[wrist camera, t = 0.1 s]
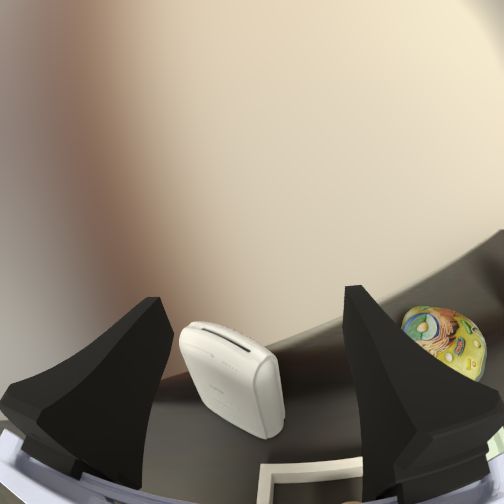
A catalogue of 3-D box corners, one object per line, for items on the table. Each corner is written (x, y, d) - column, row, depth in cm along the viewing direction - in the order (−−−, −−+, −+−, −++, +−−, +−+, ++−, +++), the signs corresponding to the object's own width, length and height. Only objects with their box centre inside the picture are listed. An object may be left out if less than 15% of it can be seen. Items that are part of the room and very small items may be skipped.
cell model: (435, 406, 22) (389, 294, 33) (421, 417, 28) (386, 322, 38) (511, 362, 21) (458, 265, 31) (487, 381, 26) (447, 296, 37)
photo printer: (198, 405, 31) (165, 327, 26) (222, 383, 34) (197, 304, 29) (268, 447, 25) (251, 372, 20) (291, 419, 28) (284, 338, 23)
